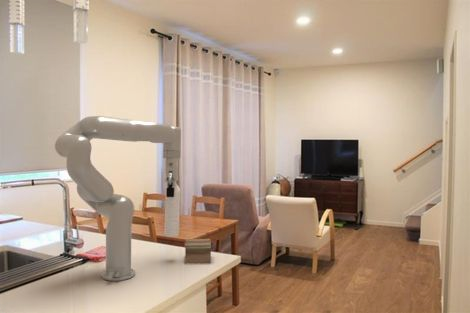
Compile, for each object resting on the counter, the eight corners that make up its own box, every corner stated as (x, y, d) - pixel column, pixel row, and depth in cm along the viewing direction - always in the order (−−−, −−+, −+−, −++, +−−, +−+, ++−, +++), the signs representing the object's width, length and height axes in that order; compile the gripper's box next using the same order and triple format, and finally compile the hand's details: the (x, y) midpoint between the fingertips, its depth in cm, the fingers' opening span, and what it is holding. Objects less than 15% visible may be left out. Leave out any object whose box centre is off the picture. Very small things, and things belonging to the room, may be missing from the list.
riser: (210, 263, 167) (211, 245, 167) (184, 263, 166) (185, 245, 165) (209, 255, 178) (210, 238, 178) (185, 256, 177) (185, 238, 177)
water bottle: (172, 232, 173) (174, 177, 171) (182, 235, 169) (183, 179, 167) (157, 235, 167) (158, 178, 165) (166, 239, 162) (167, 180, 161)
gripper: (179, 155, 158) (178, 198, 159) (181, 154, 176) (180, 193, 176) (161, 155, 158) (160, 198, 158) (164, 154, 175) (163, 193, 175)
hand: (170, 195), depth 167 cm, fingers closed on water bottle, 6 cm apart
